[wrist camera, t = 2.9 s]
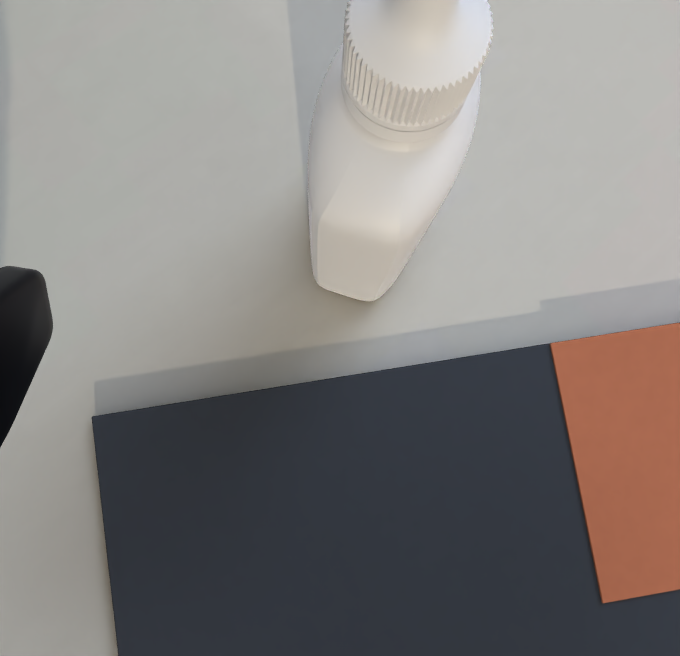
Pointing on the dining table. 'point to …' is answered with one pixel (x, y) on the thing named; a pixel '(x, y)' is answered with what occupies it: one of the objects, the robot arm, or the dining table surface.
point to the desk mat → (407, 510)
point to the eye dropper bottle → (391, 135)
